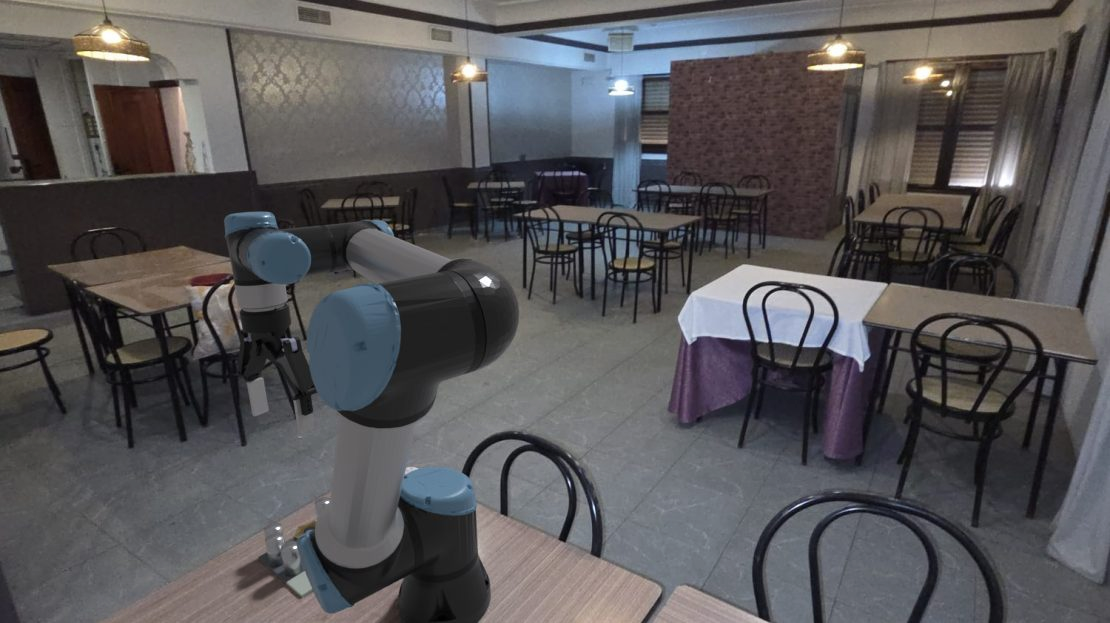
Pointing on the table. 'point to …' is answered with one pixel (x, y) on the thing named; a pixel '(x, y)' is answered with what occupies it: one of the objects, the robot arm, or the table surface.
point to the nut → (304, 529)
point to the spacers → (287, 545)
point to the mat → (295, 582)
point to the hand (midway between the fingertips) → (283, 421)
